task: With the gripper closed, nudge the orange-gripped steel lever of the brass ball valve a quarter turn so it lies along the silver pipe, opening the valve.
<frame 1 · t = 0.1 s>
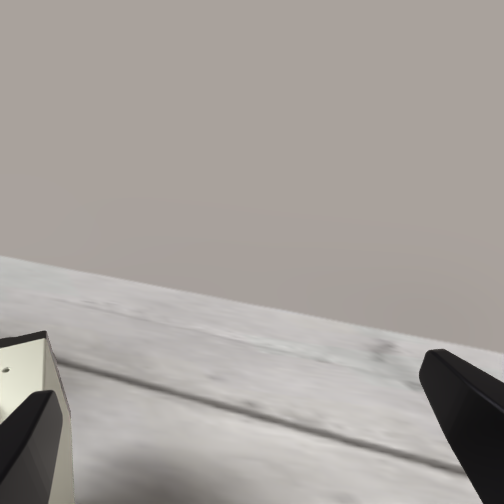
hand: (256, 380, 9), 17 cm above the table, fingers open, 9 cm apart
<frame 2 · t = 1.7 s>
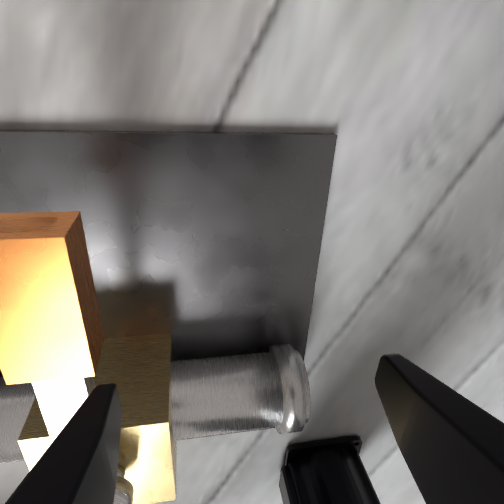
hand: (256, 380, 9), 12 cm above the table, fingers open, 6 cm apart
valve lever: (74, 413, 14), point 8 cm above the table, hinge at 0.0°
ball valve body: (123, 371, 24), on the table
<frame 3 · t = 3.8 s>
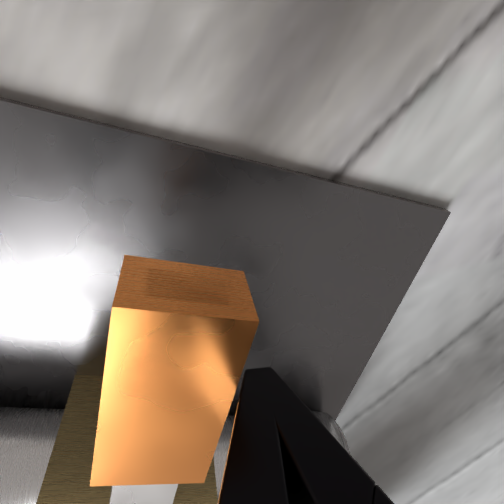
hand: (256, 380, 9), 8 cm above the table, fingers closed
ball valve body: (135, 415, 20), on the table
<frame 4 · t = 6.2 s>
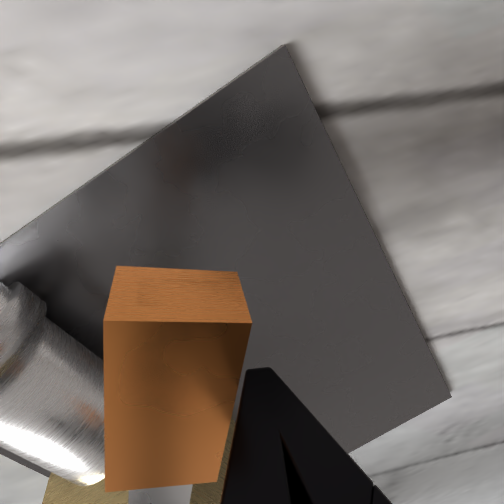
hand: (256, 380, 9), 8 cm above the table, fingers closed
ball valve body: (154, 415, 21), on the table
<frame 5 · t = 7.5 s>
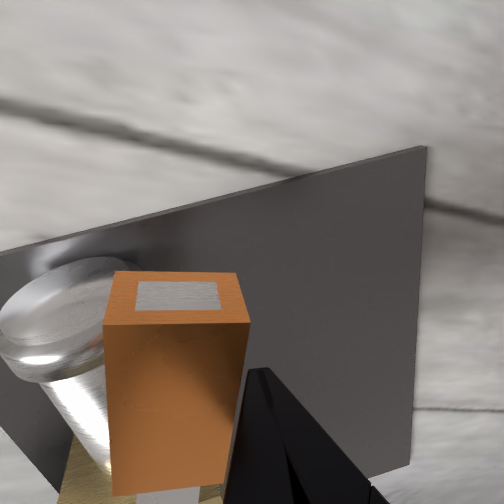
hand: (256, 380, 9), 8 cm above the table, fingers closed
ball valve body: (163, 420, 21), on the table
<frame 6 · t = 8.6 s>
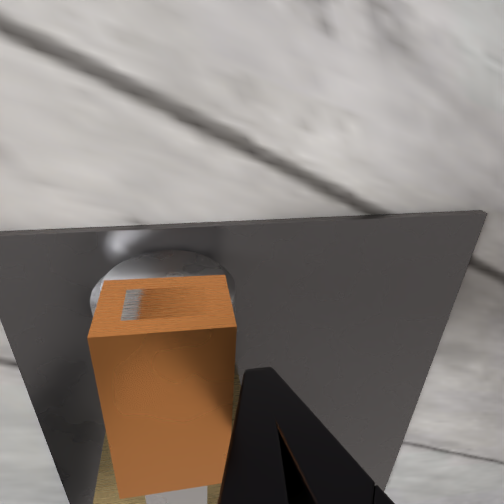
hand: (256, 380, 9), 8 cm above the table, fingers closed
ball valve body: (181, 416, 21), on the table
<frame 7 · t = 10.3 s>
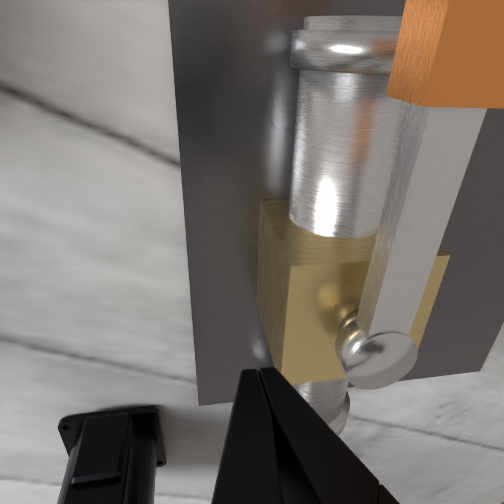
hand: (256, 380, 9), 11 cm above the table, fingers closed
valve lever: (419, 198, 11), point 8 cm above the table, hinge at 88.7°
ball valve body: (311, 248, 21), on the table
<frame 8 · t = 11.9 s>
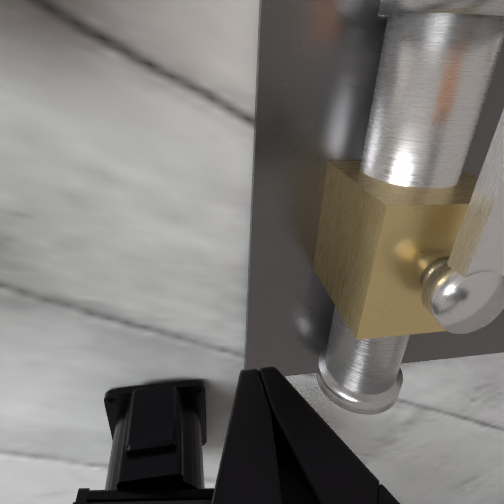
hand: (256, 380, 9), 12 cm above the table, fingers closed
ball valve body: (370, 214, 21), on the table
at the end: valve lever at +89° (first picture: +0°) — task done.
